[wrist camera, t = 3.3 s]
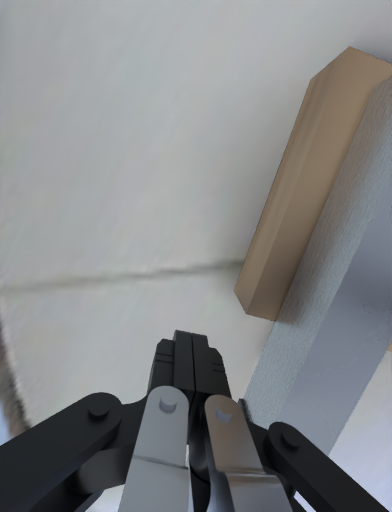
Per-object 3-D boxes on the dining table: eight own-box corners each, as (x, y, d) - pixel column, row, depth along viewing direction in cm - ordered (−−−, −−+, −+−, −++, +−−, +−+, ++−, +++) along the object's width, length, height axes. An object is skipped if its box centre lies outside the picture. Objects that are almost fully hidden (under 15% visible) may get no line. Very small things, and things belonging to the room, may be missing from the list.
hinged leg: (370, 83, 10) (484, 18, 6) (440, 112, 10) (587, 68, 7) (232, 415, 14) (251, 498, 10) (287, 426, 14) (325, 510, 10)
